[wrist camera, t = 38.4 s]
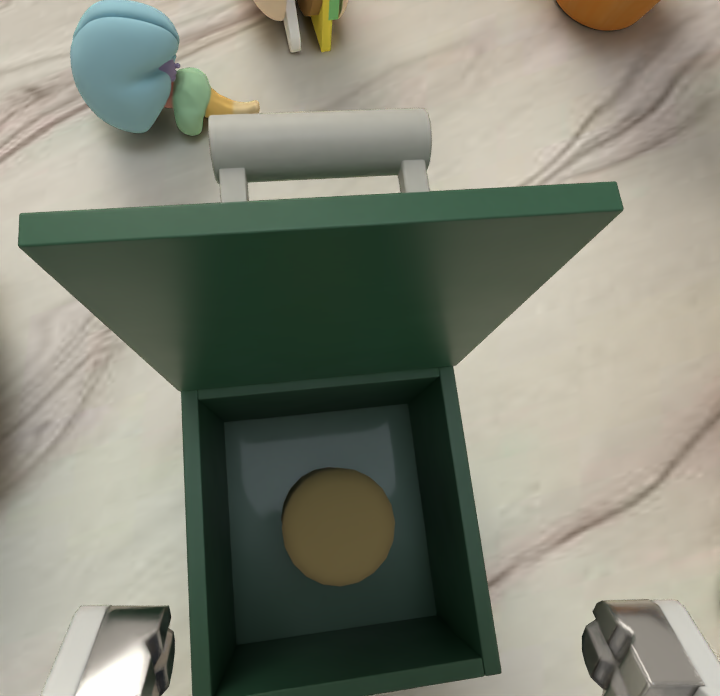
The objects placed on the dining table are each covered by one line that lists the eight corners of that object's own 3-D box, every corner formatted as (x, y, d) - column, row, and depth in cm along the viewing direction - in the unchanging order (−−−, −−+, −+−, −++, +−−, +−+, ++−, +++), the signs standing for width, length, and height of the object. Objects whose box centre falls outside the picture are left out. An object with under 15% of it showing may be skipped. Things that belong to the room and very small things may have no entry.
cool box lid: (624, 209, 13) (580, 45, 14) (16, 247, 12) (26, 57, 13) (456, 365, 28) (441, 277, 29) (178, 391, 26) (175, 297, 28)
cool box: (448, 624, 34) (502, 674, 25) (225, 657, 33) (193, 725, 23) (415, 393, 38) (452, 360, 28) (212, 412, 36) (180, 385, 27)
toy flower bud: (254, 84, 33) (38, 53, 31) (255, 167, 42) (86, 146, 40) (263, -11, 35) (60, -47, 33) (263, 86, 44) (101, 63, 42)
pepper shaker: (281, 571, 34) (270, 607, 23) (280, 468, 35) (270, 459, 24) (380, 565, 34) (414, 598, 24) (375, 464, 36) (405, 453, 25)
